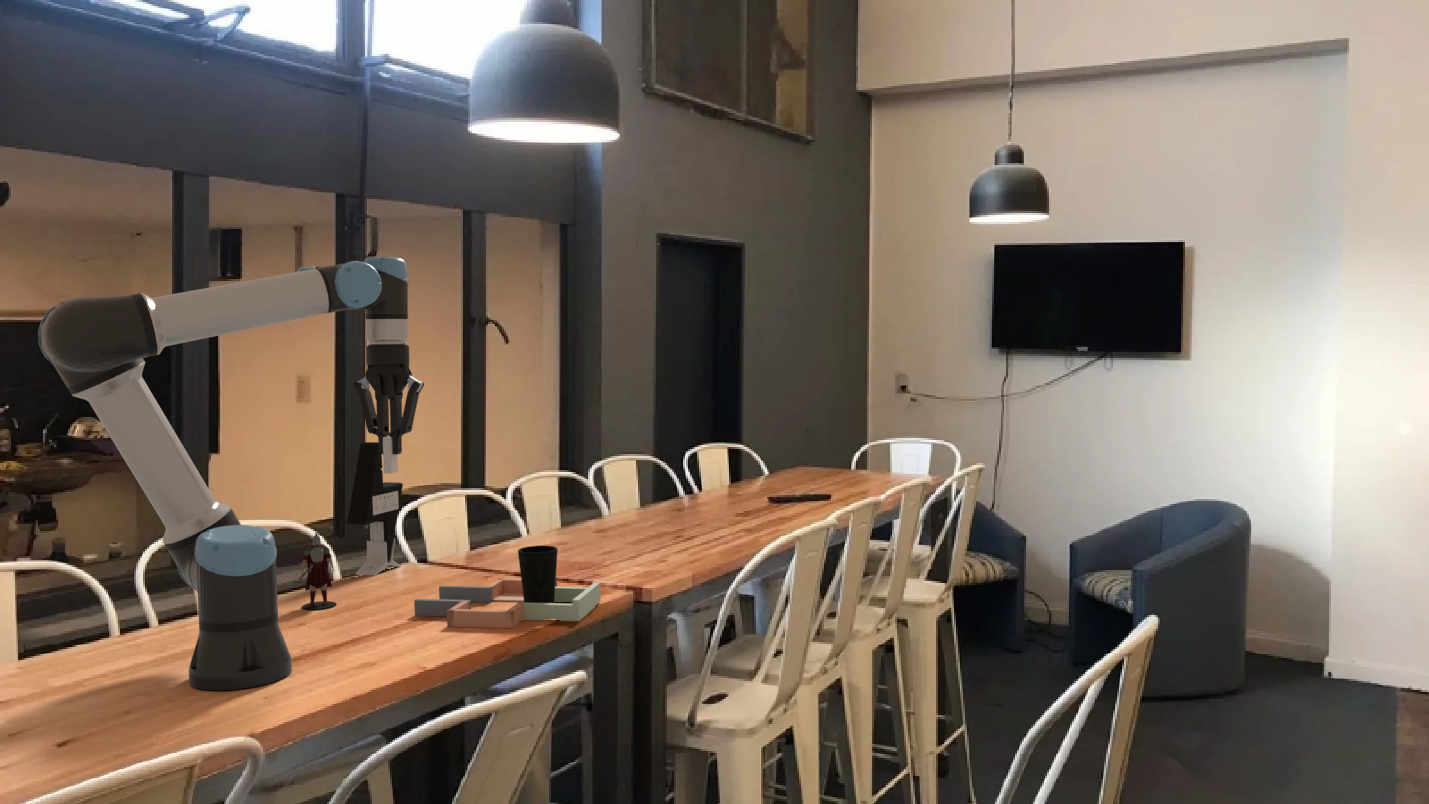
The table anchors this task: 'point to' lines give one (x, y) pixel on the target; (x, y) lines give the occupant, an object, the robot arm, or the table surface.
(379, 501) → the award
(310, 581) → the figurine
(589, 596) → the track
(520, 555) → the cup
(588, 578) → the table surface
